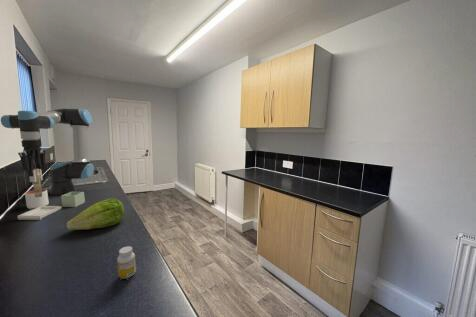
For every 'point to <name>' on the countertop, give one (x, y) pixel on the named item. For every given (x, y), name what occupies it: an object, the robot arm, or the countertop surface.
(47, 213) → the dish
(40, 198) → the cup
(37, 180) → the dowel
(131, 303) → the countertop surface
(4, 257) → the countertop surface
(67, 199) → the pen pot
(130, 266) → the supplement bottle
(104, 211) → the lettuce
